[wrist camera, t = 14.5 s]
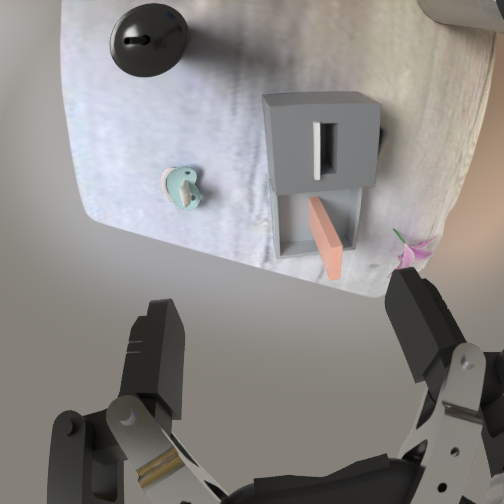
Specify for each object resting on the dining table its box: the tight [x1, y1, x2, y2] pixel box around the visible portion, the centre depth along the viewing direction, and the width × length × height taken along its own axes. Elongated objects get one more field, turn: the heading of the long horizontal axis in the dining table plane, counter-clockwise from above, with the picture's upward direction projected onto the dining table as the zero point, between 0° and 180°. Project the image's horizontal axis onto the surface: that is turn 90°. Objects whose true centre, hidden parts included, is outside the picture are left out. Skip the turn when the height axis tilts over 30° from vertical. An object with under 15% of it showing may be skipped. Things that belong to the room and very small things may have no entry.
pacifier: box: [161, 167, 200, 210], centre depth 44 cm, size 7×6×6 cm
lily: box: [387, 229, 437, 278], centre depth 54 cm, size 12×12×10 cm
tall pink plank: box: [309, 197, 343, 280], centre depth 46 cm, size 2×6×13 cm, turn 8°
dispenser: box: [262, 92, 381, 196], centre depth 39 cm, size 14×12×9 cm
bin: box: [269, 179, 363, 259], centre depth 50 cm, size 14×13×4 cm
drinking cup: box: [110, 3, 190, 77], centre depth 24 cm, size 8×8×20 cm
